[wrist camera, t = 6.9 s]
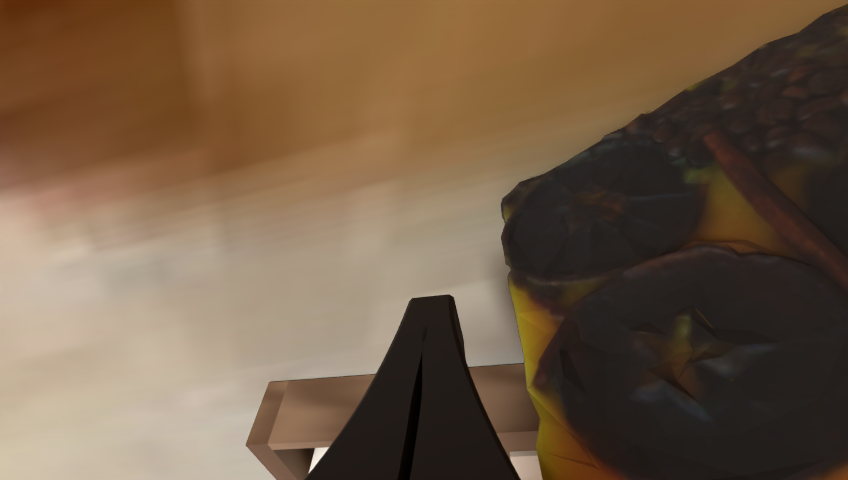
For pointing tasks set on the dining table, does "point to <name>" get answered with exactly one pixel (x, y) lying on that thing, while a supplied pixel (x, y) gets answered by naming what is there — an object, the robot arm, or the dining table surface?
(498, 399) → the brown shallow box
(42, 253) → the dining table surface
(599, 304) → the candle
